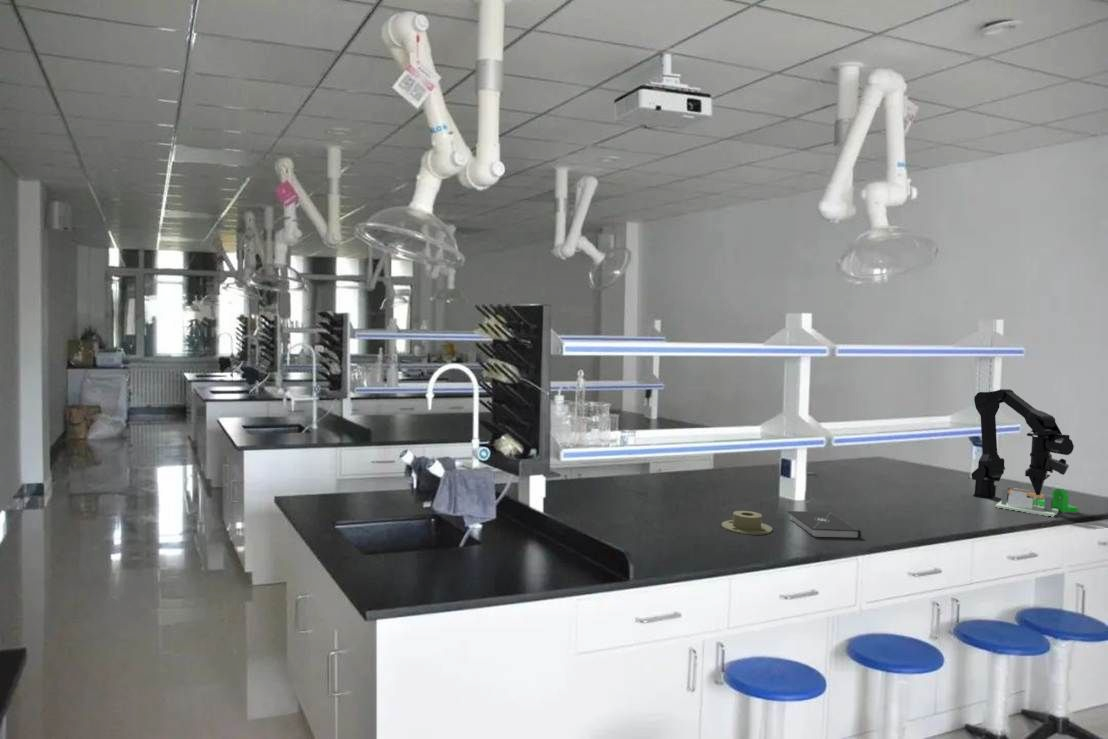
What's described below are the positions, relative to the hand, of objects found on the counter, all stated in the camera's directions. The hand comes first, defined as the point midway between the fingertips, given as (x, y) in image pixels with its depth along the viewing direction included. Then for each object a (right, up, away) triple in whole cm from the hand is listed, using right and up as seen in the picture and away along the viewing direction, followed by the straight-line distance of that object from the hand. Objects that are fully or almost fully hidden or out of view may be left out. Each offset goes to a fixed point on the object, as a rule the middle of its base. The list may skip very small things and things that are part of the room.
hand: (1038, 494), depth 288 cm
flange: (-111, -5, -39) cm, 118 cm away
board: (-3, -6, +2) cm, 7 cm away
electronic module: (-3, -5, +2) cm, 6 cm away
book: (-87, -6, -35) cm, 94 cm away
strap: (-3, -1, +3) cm, 4 cm away
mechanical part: (+11, -6, +6) cm, 14 cm away
